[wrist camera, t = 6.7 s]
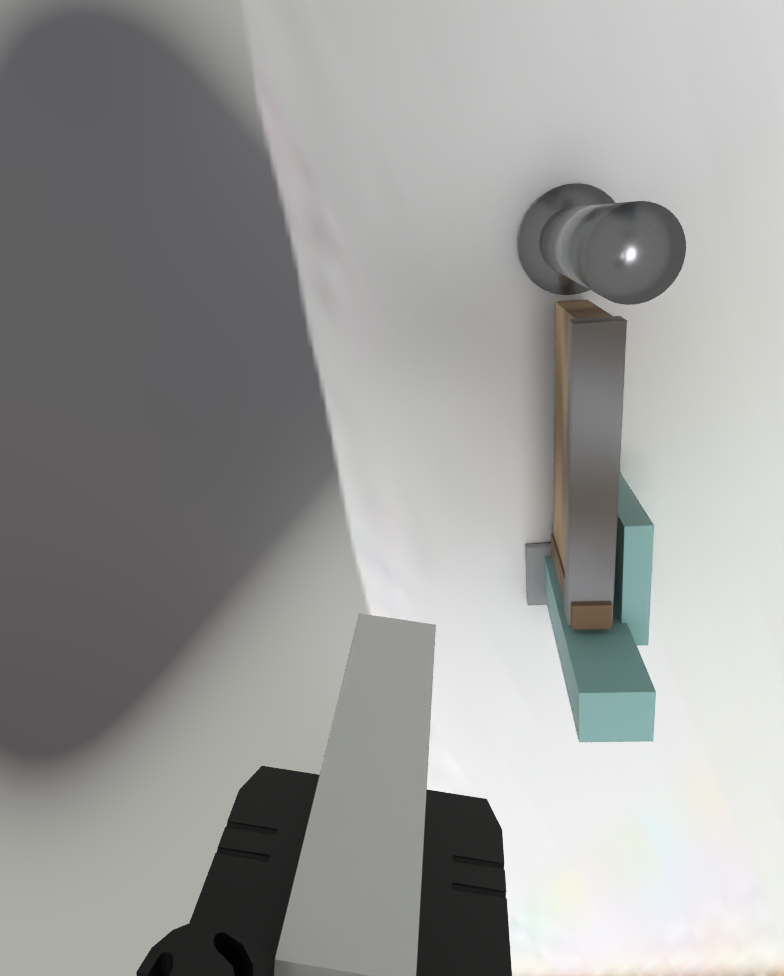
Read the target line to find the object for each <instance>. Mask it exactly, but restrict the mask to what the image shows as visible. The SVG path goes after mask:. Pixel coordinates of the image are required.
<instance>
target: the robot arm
mask: <svg viewBox="0 0 784 976" xmlns="http://www.w3.org/2000/svg"><path fill="white" fill-rule="evenodd" d="M435 628H436V625H433V624H426V623H419V622H413V621H406V620H399V619H392V618H386V617H379V616H372V615H364V614H359V616H358V620H357V624H356V628H355V632H354V636H353V640H352V645H351V649H350V653H349V657H348V661H347V665H346V669H345V673H344V677H343V682H342V686H341V690H340V694H339V698H338V702H337V706H336V710H335V715H334V719H333V723H332V727H331V731H330V735H329V739H328V743H327V747H326V751H325V755H324V760H323V764H322V768H321V772H320V775H317V774H311V773H304V772H298V771H291V770H285V769H279V768H272V767H266V766H261V767H260V769H259V770H258V771H257V772H256V773H255V774H254V775H253V776H252V777H251V778H250V779H249V780H248V781H247V782H246V784H244V785H243V787H242V788H241V789H240V790H239V792H238V795H237V797H236V800H235V803H234V805H233V808H232V811H231V814H230V816H229V819H228V823H227V826H226V827H225V829H224V832H223V835H222V837H221V840H220V843H219V846H218V850H217V853H216V854H215V856H214V859H213V862H212V865H211V867H210V869H209V872H208V875H207V878H206V880H205V883H204V886H203V888H202V891H201V894H200V896H199V899H198V902H197V904H196V907H195V910H194V913H193V915H192V918H191V920H190V923H189V924H187V925H185V926H182V927H179V928H177V929H174V930H172V931H171V932H170V933H169V934H168V935H167V936H165V937H164V938H163V939H162V940H161V941H159V942H158V943H157V944H156V945H155V946H154V947H152V948H151V950H150V951H149V953H148V955H147V956H146V958H145V960H144V961H143V963H142V964H141V966H140V967H139V969H138V971H137V976H512V971H511V956H510V942H509V927H508V912H507V898H506V883H505V870H504V853H503V838H502V829H501V827H500V825H499V823H498V821H497V819H496V817H495V815H494V813H493V811H492V809H491V807H490V805H489V803H488V801H487V799H483V798H477V797H470V796H464V795H457V794H451V793H445V792H438V791H432V790H427V772H428V754H429V736H430V718H431V700H432V682H433V664H434V646H435Z"/></svg>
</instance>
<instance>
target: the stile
mask: <svg viewBox="0 0 784 976" xmlns="http://www.w3.org/2000/svg"><path fill="white" fill-rule="evenodd" d="M653 531H654V525H653V523H652V522H651V520H650V519H649V517H648V515H647V514H646V512H645V511H644V509H643V508H642V506H641V504H640V503H639V501H638V500H637V498H636V497H635V495H634V493H633V492H632V490H631V489H630V487H629V486H628V484H627V482H626V481H625V479H624V478H623V476H622V475H621V473H619V494H618V515H617V536H616V557H615V578H614V600H613V621H612V624H611V629H584V630H572V628H571V625H568V624H567V620H566V616H565V612H564V599H563V596H562V592H561V588H560V585H559V581H558V578H557V574H556V570H555V567H554V563H553V560H552V556H551V543H540V544H526V580H527V603H528V605H547V606H548V610H549V615H550V619H551V623H552V628H553V632H554V636H555V640H556V645H557V649H558V653H559V658H560V662H561V666H562V671H563V675H564V679H565V684H566V688H567V692H568V697H569V701H570V705H571V710H572V714H573V718H574V722H575V727H576V731H577V735H578V740H579V742H630V741H653V734H654V715H655V697H656V691H655V689H654V686H653V684H652V682H651V679H650V677H649V674H648V672H647V670H646V667H645V665H644V662H643V660H642V658H641V655H640V653H639V650H638V648H637V646H636V645H648V636H649V615H650V594H651V573H652V552H653Z"/></svg>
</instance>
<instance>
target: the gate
mask: <svg viewBox="0 0 784 976" xmlns="http://www.w3.org/2000/svg"><path fill="white" fill-rule="evenodd" d="M626 325H627V320H625V319H623V318H622V317H620V316H614V317H613V316H612V315H610V314H608V313H607V312H605V311H604V310H602V309H601V308H599V307H598V306H596V305H594V304H593V303H591V302H590V301H588V300H577V301H562V302H556V320H555V418H554V517H553V533H552V534H551V556H552V560H553V563H554V567H555V570H556V574H557V578H558V581H559V585H560V588H561V592H562V596H563V599H564V612H565V616H566V620H567V624H568V625H571V628H572V630H584V629H611V624H612V621H613V600H614V578H615V557H616V536H617V515H618V494H619V473H620V452H621V430H622V409H623V388H624V367H625V346H626Z"/></svg>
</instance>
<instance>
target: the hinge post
mask: <svg viewBox="0 0 784 976" xmlns="http://www.w3.org/2000/svg"><path fill="white" fill-rule="evenodd" d="M517 247H518V255H519V259H520V262H521V265H522V267H523V269H524V271H525V272H526V274H527V275H528V276H529V278H530V279H531V280H532V281H533V282H534V283H536V284H537V285H538V286H539V287H541V288H543V289H544V290H547V291H549V292H552V293H555V294H561V295H573V294H579V293H582V292H585V291H588V290H592V291H593V292H595V293H597V294H599V295H601V296H603V297H604V298H606V299H608V300H610V301H613V302H615V303H619V304H627V305H628V304H639V303H643V302H646V301H649V300H651V299H653V298H655V297H657V296H659V295H660V294H661V293H663V292H664V291H665V290H666V289H667V288H668V287H669V286H670V285H671V284H672V283H673V282H674V280H675V279H676V277H677V276H678V274H679V272H680V270H681V268H682V265H683V262H684V258H685V252H686V241H685V235H684V232H683V229H682V226H681V224H680V223H679V221H678V219H677V218H676V217H675V216H674V215H673V213H671V212H670V211H669V210H668V209H666V208H665V207H663V206H661V205H658V204H656V203H652V202H646V201H636V202H625V203H615V202H614V201H613V200H612V199H611V197H610V196H608V195H607V194H606V193H605V192H603V191H601V190H600V189H598V188H596V187H593V186H590V185H586V184H568V185H563V186H560V187H557V188H554V189H552V190H550V191H548V192H546V193H545V194H543V195H542V196H541V197H540V198H538V199H537V200H536V201H535V202H534V203H533V204H532V205H531V207H530V208H529V209H528V211H527V213H526V214H525V216H524V218H523V220H522V223H521V225H520V229H519V233H518V243H517Z"/></svg>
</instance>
